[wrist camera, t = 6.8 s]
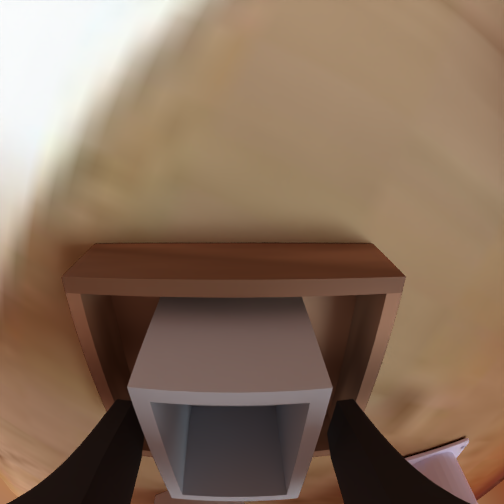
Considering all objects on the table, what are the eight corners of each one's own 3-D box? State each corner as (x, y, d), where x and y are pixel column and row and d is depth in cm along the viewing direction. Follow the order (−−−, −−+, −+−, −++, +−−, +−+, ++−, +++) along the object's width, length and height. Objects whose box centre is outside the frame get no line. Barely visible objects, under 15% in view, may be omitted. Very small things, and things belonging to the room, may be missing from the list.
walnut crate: (334, 411, 16) (346, 452, 13) (137, 412, 16) (126, 453, 13) (372, 243, 12) (405, 276, 10) (95, 243, 12) (61, 276, 9)
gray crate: (283, 404, 15) (297, 498, 10) (184, 404, 15) (171, 498, 10) (296, 283, 12) (332, 387, 7) (165, 283, 12) (126, 386, 7)
